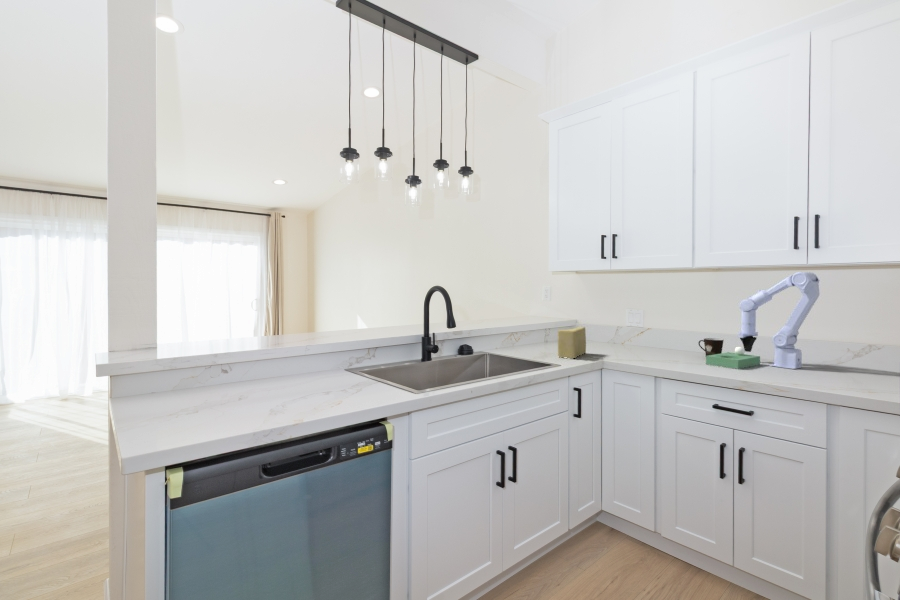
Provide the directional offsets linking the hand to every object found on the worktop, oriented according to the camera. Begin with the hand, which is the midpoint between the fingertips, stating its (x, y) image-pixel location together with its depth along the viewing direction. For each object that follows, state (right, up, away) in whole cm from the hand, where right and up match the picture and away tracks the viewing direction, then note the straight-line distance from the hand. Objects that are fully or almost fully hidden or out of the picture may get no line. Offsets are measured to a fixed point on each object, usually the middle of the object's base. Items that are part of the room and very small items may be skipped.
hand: (747, 351), depth 207 cm
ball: (-7, +1, -4) cm, 8 cm away
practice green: (-12, -5, -7) cm, 15 cm away
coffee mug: (-11, -5, +11) cm, 16 cm away
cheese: (-79, -5, +20) cm, 81 cm away
